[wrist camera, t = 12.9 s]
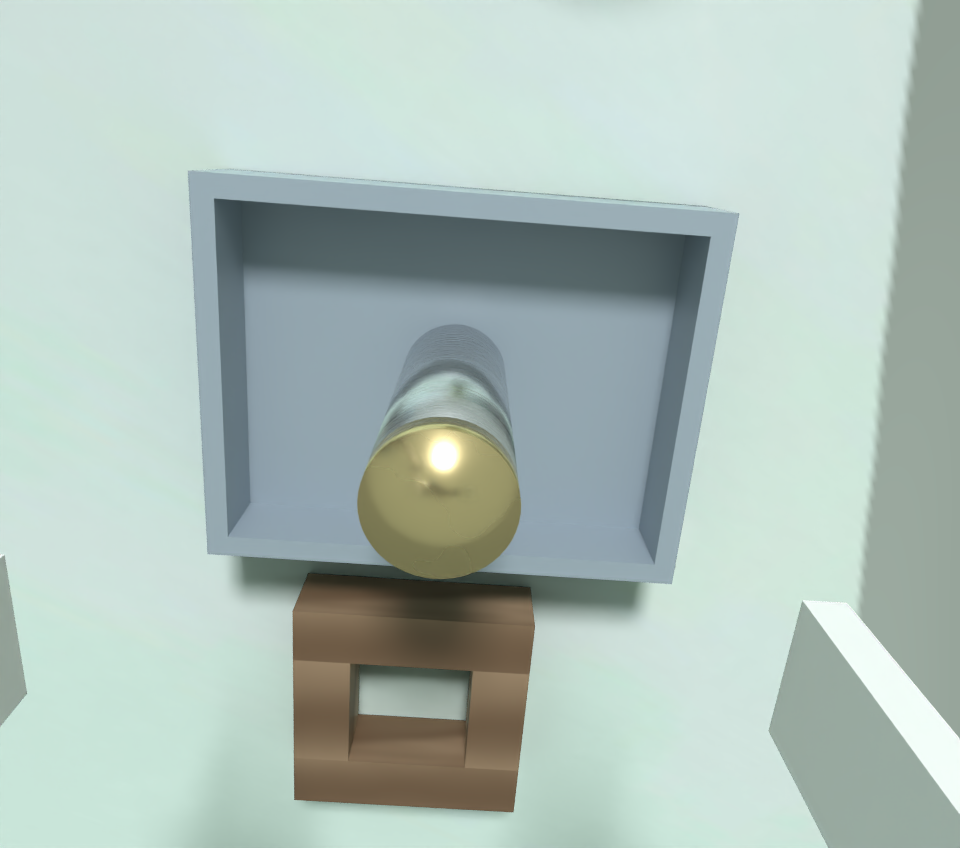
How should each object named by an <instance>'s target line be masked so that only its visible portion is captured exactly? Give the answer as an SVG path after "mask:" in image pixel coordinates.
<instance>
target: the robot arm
mask: <svg viewBox="0 0 960 848" xmlns="http://www.w3.org/2000/svg"><path fill="white" fill-rule="evenodd" d="M26 694H27V691H26V685H25V678H24V672H23V666H22V660H21V654H20V648H19V642H18V635H17V629H16V623H15V617H14V611H13V605H12V598H11V592H10V586H9V580H8V574H7V568H6V562H5V555H3V554H0V726H1V725H2V724H3V723H4V721H5V720H6V719H7V718H8V716H9V715H10V714H11V713H12V712H13V710H14V709H15V708H16V707H17V705H18V704H19V703H20V702H21V700H22V699H23V698H24V697H25V695H26ZM769 733H770V735H771V737H772V739H773V740H774V742H775V744H776V746H777V748H778V750H779V752H780V754H781V756H782V758H783V760H784V762H785V764H786V766H787V768H788V770H789V772H790V774H791V776H792V778H793V780H794V781H795V783H796V785H797V787H798V789H799V791H800V793H801V795H802V797H803V799H804V801H805V803H806V805H807V807H808V809H809V811H810V813H811V815H812V817H813V819H814V820H815V822H816V824H817V826H818V828H819V830H820V832H821V834H822V836H823V838H824V840H825V842H826V844H827V846H828V848H960V739H959V737H958V736H957V735H956V734H955V733H954V731H953V730H952V729H951V728H950V727H949V725H948V724H947V723H946V722H945V720H944V719H943V718H942V717H941V716H940V714H939V713H938V712H937V711H936V710H935V709H934V707H933V706H932V705H931V704H930V702H929V701H928V700H927V699H926V698H925V696H924V695H923V694H922V693H921V692H920V690H919V689H918V688H917V687H916V685H915V684H914V683H913V682H912V681H911V679H910V678H909V677H908V676H907V675H906V673H905V672H904V671H903V670H902V669H901V667H900V666H899V665H898V664H897V663H896V661H895V660H894V659H893V658H892V657H891V655H890V654H889V653H888V652H887V650H886V649H885V648H884V647H883V646H882V645H881V643H880V642H879V641H878V640H877V638H876V637H875V636H874V635H873V634H872V632H871V631H870V630H869V629H868V628H867V627H866V625H865V624H864V623H863V621H862V620H861V619H860V618H859V617H858V615H857V614H856V613H855V612H854V611H853V609H852V608H851V607H850V606H849V605H848V603H841V602H824V601H806V600H802V604H801V608H800V612H799V616H798V619H797V623H796V627H795V631H794V635H793V639H792V643H791V646H790V650H789V654H788V658H787V662H786V666H785V670H784V673H783V677H782V681H781V685H780V689H779V693H778V697H777V700H776V704H775V708H774V712H773V716H772V720H771V724H770V728H769Z"/></svg>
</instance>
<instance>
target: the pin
mask: <svg viewBox="0 0 960 848" xmlns="http://www.w3.org/2000/svg"><path fill="white" fill-rule="evenodd" d="M357 510H358V516H359V521H360V524H361V527H362V530H363V532H364V534H365V536H366V538H367V540H368V541H369V543H370V544H371V546H372V547H373V548H374V549H375V550H376V552H377V553H378V554H379V555H380V556H381V557H383V558H384V559H385V560H386V561H387V562H389V563H390V564H392V565H393V566H395V567H396V568H398V569H400V570H402V571H404V572H407V573H410V574H412V575H415V576H420V577H424V578H431V579H450V578H457V577H462V576H466V575H469V574H471V573H474V572H476V571H478V570H481V569H483V568H484V567H486V566H487V565H489V564H490V563H492V562H493V561H494V560H496V559H497V558H498V557H499V556H500V555H501V554H502V553H503V552H504V551H505V549H506V548H507V547H508V545H509V544H510V542H511V541H512V539H513V537H514V535H515V533H516V531H517V528H518V525H519V521H520V515H521V497H520V489H519V481H518V472H517V464H516V456H515V447H514V439H513V431H512V423H511V414H510V406H509V398H508V389H507V381H506V373H505V365H504V361H503V358H502V355H501V353H500V351H499V349H498V348H497V346H496V345H495V344H494V342H493V341H492V340H491V339H490V338H489V337H488V336H486V335H485V334H484V333H482V332H481V331H479V330H477V329H475V328H472V327H469V326H465V325H459V324H449V325H443V326H439V327H436V328H434V329H431V330H429V331H428V332H426V333H425V334H423V335H422V336H421V337H420V338H419V339H418V340H417V341H416V342H415V343H414V344H413V345H412V347H411V349H410V350H409V352H408V355H407V357H406V360H405V363H404V365H403V368H402V371H401V373H400V376H399V379H398V382H397V384H396V387H395V390H394V392H393V395H392V398H391V401H390V403H389V406H388V409H387V412H386V414H385V417H384V420H383V422H382V425H381V428H380V431H379V433H378V436H377V439H376V441H375V444H374V447H373V450H372V452H371V455H370V458H369V461H368V463H367V466H366V469H365V471H364V474H363V477H362V480H361V482H360V486H359V490H358V498H357Z"/></svg>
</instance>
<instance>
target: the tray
mask: <svg viewBox="0 0 960 848" xmlns="http://www.w3.org/2000/svg"><path fill="white" fill-rule="evenodd" d="M188 182H189V201H190V221H191V240H192V260H193V279H194V299H195V318H196V338H197V357H198V377H199V396H200V415H201V435H202V454H203V474H204V493H205V513H206V532H207V552H208V554H215V555H231V556H246V557H261V558H277V559H292V560H308V561H323V562H339V563H354V564H370V565H385V566H393V565H392V564H390V563H389V562H387V561H386V560H385V559H384V558H383V557H381V556H380V555H379V554H378V553H377V552H376V550H375V549H374V548H373V547H372V546H371V544H370V543H369V541H368V540H367V538H366V536H365V534H364V532H363V530H362V527H361V524H360V521H359V516H358V510H357V498H358V490H359V486H360V482H361V480H362V477H363V474H364V471H365V469H366V466H367V463H368V461H369V458H370V455H371V452H372V450H373V447H374V444H375V441H376V439H377V436H378V433H379V431H380V428H381V425H382V422H383V420H384V417H385V414H386V412H387V409H388V406H389V403H390V401H391V398H392V395H393V392H394V390H395V387H396V384H397V382H398V379H399V376H400V373H401V371H402V368H403V365H404V363H405V360H406V357H407V355H408V352H409V350H410V349H411V347H412V345H413V344H414V343H415V342H416V341H417V340H418V339H419V338H420V337H421V336H422V335H423V334H425V333H426V332H428V331H429V330H431V329H434V328H436V327H439V326H443V325H449V324H459V325H465V326H469V327H472V328H475V329H477V330H479V331H481V332H482V333H484V334H485V335H486V336H488V337H489V338H490V339H491V340H492V341H493V342H494V344H495V345H496V346H497V348H498V349H499V351H500V353H501V355H502V358H503V361H504V365H505V373H506V381H507V389H508V398H509V406H510V414H511V423H512V431H513V439H514V447H515V456H516V464H517V472H518V481H519V489H520V497H521V515H520V521H519V525H518V528H517V531H516V533H515V535H514V537H513V539H512V541H511V542H510V544H509V545H508V547H507V548H506V549H505V551H504V552H503V553H502V554H501V555H500V556H499V557H498V558H497V559H496V560H494V561H493V562H492V563H490V564H489V565H487V566H486V567H484V568H483V569H481V570H478V572H494V573H509V574H525V575H540V576H555V577H571V578H586V579H602V580H617V581H633V582H648V583H664V584H672V580H673V574H674V569H675V563H676V558H677V552H678V547H679V541H680V536H681V530H682V525H683V520H684V514H685V509H686V503H687V498H688V492H689V487H690V481H691V476H692V470H693V465H694V459H695V454H696V448H697V443H698V437H699V432H700V426H701V421H702V415H703V410H704V404H705V399H706V393H707V388H708V382H709V377H710V371H711V366H712V361H713V355H714V350H715V344H716V339H717V333H718V328H719V322H720V317H721V311H722V306H723V300H724V295H725V289H726V284H727V278H728V273H729V267H730V262H731V256H732V251H733V245H734V240H735V234H736V229H737V223H738V218H739V213H734V212H729V211H725V210H720V209H715V208H711V207H706V206H695V205H682V204H669V203H656V202H643V201H631V200H618V199H605V198H592V197H579V196H567V195H554V194H541V193H528V192H515V191H503V190H490V189H477V188H464V187H451V186H438V185H426V184H413V183H400V182H387V181H374V180H362V179H349V178H336V177H323V176H310V175H297V174H285V173H272V172H259V171H246V170H233V169H215V170H192V171H188Z"/></svg>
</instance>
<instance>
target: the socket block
mask: <svg viewBox="0 0 960 848" xmlns="http://www.w3.org/2000/svg"><path fill="white" fill-rule="evenodd" d="M534 630H535V623H534V615H533V606H532V598H531V590H530V587H514V586H498V585H483V584H467V583H452V582H436V581H421V580H405V579H389V578H374V577H358V576H343V575H327V574H311V573H308V575H307V578H306V580H305V582H304V585H303V587H302V590H301V592H300V595H299V597H298V600H297V602H296V604H295V607H294V609H293V698H294V800H306V801H324V802H341V803H359V804H377V805H395V806H412V807H430V808H448V809H466V810H484V811H501V812H513V811H514V803H515V794H516V786H517V777H518V768H519V760H520V751H521V742H522V734H523V725H524V716H525V708H526V699H527V690H528V682H529V673H530V665H531V656H532V647H533V639H534ZM360 664H366V665H382V666H398V667H415V668H431V669H447V670H464V671H470V677H469V688H468V700H467V712H466V721H464V720H447V719H430V718H413V717H397V716H380V715H363V714H358V707H359V668H360Z"/></svg>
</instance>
